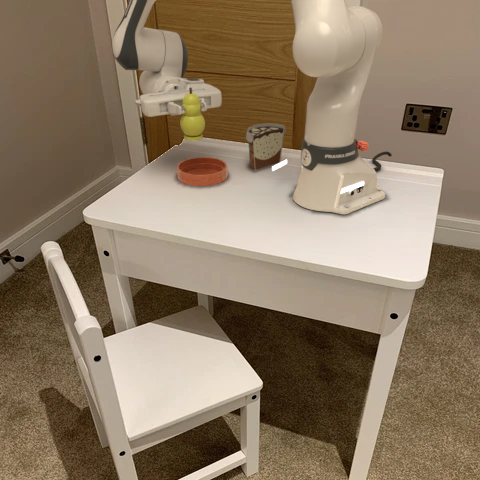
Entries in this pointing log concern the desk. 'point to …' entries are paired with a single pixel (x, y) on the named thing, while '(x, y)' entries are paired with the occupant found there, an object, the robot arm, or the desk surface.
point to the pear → (192, 117)
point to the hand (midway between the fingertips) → (193, 109)
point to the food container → (265, 144)
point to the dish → (202, 171)
